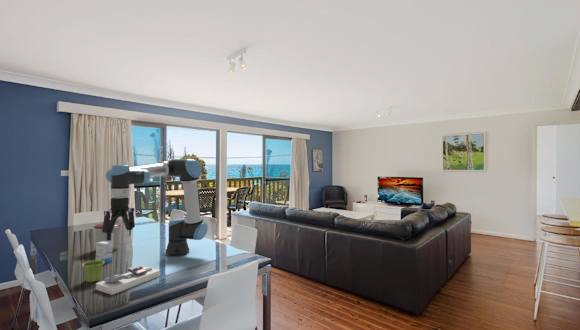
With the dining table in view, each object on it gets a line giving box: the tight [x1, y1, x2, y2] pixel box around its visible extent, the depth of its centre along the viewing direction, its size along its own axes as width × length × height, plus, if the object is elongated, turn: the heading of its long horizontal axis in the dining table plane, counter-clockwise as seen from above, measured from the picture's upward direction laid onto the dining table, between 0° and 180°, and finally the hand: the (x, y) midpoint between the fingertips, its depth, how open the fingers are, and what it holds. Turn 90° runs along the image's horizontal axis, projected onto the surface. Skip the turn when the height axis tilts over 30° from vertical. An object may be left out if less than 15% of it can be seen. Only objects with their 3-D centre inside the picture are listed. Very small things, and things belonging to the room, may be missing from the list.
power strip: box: [95, 266, 161, 296], centre depth 144 cm, size 12×26×3 cm, turn 154°
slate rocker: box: [103, 273, 125, 283], centre depth 137 cm, size 8×5×3 cm, turn 64°
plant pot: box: [81, 260, 105, 283], centre depth 146 cm, size 9×9×9 cm
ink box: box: [95, 241, 114, 264], centre depth 175 cm, size 9×5×12 cm, turn 71°
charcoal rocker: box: [127, 264, 147, 276], centre depth 148 cm, size 8×5×3 cm, turn 64°
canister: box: [91, 221, 123, 251], centre depth 199 cm, size 18×18×21 cm
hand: (118, 245), depth 136 cm, fingers open, 7 cm apart
